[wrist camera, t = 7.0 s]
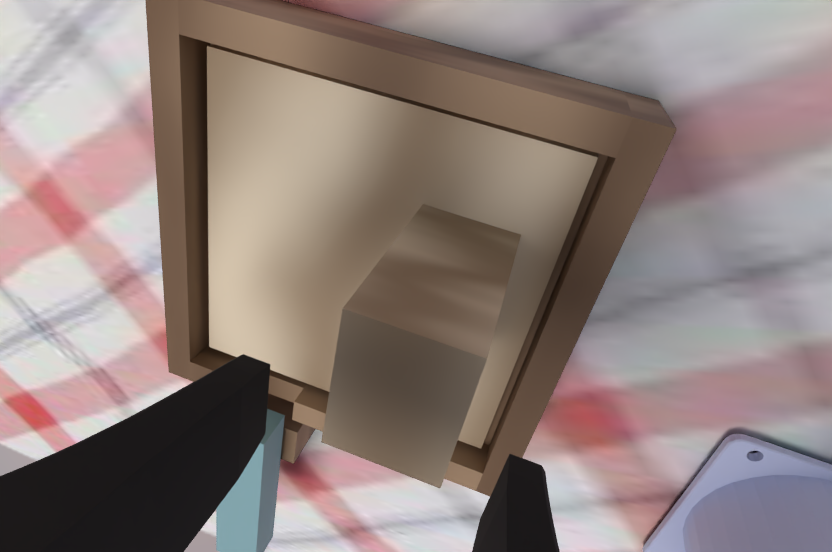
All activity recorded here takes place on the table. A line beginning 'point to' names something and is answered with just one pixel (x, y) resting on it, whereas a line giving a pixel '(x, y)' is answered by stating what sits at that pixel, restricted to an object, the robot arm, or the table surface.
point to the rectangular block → (253, 496)
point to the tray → (422, 82)
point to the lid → (379, 251)
